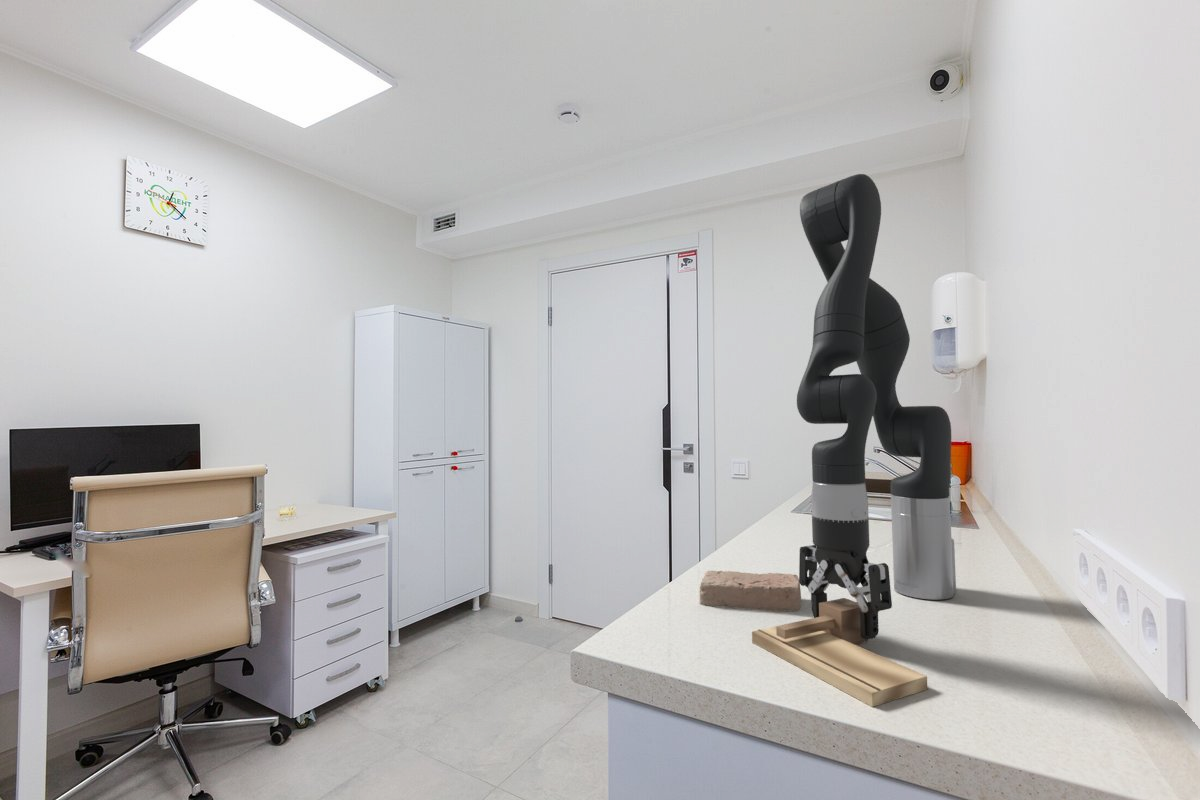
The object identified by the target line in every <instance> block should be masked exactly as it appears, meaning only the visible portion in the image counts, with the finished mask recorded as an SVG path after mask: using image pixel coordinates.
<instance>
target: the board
mask: <svg viewBox="0 0 1200 800" xmlns="http://www.w3.org/2000/svg"><path fill="white" fill-rule="evenodd" d="M751 640H752V641H751V642H752V644H755V645H756V646H758V647H760V648H762V649H764V650H766V651H767V652H770V653H771V654H773V655H775V656H777V657H779V658H781V659H783V660H785V661H786V662H788V663H790V664H791V665H794V666H795V667H797V668H799V669H801V670H803V671H805V672H806V673H809V674H810V675H811V676H814V677H816V678H818V679H819V680H822V681H823V682H825V683H827V684H829V685H830V686H833V687H835V688H836V689H839V690H840V691H842V692H844V693H846V694H848V695H850V696H851V697H853V698H855V699H858V700H859V701H861V702H863V703H865V704H866V705H868V706H869V707H872V708H873V707H875V706H880V705H883V704H885V703H888V702H889V703H890V702H892V701H895V700H899V699H901V698H904V697H905V698H906V697H907V696H911V695H914V694H917V693H920V692H923V691H927V690H928V676H927V675H925V674H924V673H921V672H918V671H916V670H914V669H912V668H909V667H907V666H905V665H902V664H900V663H898V662H895V661H893V660H891V659H889V658H887V657H884V656H882V655H879V654H877V653H875V652H872V651H870V650H868V649H866V648H863V647H861V646H859V645H858V644H856V645H854V644H852V643H850V642H847V641H845V640H843V639H840V638H838V637H836V636H833V635H831V634H829V633H827V632H824V631H818V632H814V633H810V634H805V635H801V636H797V637H792V638H788V639H783V638H781V637H779V636H777V633H776V626H772V627H768V628H762V629H757V630H753V631H752V632H751Z"/></svg>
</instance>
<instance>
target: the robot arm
mask: <svg viewBox="0 0 1200 800" xmlns="http://www.w3.org/2000/svg"><path fill="white" fill-rule="evenodd" d="M799 203H800V204H799V217H800V222H801V224H802V225H801V226H802V228H803V231H804V235H805V237H806V239H807V242H808V243H809V245H810V246H809V247H810V248H811V250H812V252H813V254H814V256H815V258H816V259H815V260H816V261H817V263H818V265H819V267H820V269H821V272H822V273H823V275H824V277H825V279H826V285H825V286H824V288H823V290H822V291H821V294H820V296H819V298H818V300H817V303H816V305H815V311H814V317H813V335H812V349H811V352H810V355H809V359H808V362H807V366H806V368H805V371H804V373H803V376H802V379H801V381H800V384H799V387H798V389H797V390H798V391H797V393H796V408H797V411H798V413H799V415H800V417H801V418H802V419H803V420H804V421H805V422H807V423H809V424H814V425H816V424H817V425H821V424H822V425H825V424H826V425H827V424H828V425H829V424H831V425H834V424H836V425H837V424H838V425H839V424H840V425H841V424H845V425H846V424H847V428H846V430H845V432H844V433H843V434H842V435H841V436H839V437H836V438H833V439H826V440H823V441H818V442H815V444H814V445H813V446H812V450H811V466H812V468H811V469H812V471H811V472H812V473H811V474H812V475H811V477H812V485H811V486H812V488H811V498H810V499H811V500H810V501H811V504H810V505H811V526H812V530H811V531H812V543H813V545H812V544H811V545H806V546H805V545H804V546H800V547H799V559H798V560H799V561H798V562H799V567H798V569H799V570H798V571H799V572H798V574H799V575H798V578H799V583H800V586H802V587H806V588H807V589H808V592H809V593H810V600H811V601H810V602H811V603H810V605H811V607H810V608H811V609H810V610H811V613H812V616H813V617H812V618H816V617H819V603H822V602H826V601H828V593H827V592H825V591H826V590H827V588H828V587H829V586H830V585H837V586H839V587H840V588H842V589H846V590H847V591H848V593H849V595H850V596H851V597H852V598H854V599H855V602H857V603H858V605H859V606H860V608H861V610H862V611H860V630H861V637H862V638H863V639H866V640H868V641H869V640H873V639H875V638H877V636H878V635H879V612H881V611H885V610H886V611H887V610H890V609H892V608H893V603H892V602H893V601H892V590H891V578H890V568H889V565H888V564H887V563H885V562H882V563H873V562H869V560H868V556H867V553H868V549H869V547H870V524H869V522H870V521H869V520H870V519H869V500H868V494H867V493H868V491H867V486H866V465H865V464H866V462H865V455H866V446H867V445H866V444H867V440H868V434H869V429H870V426H871V422H872V419H873V421H874V426H875V429H876V433H877V437H878V440H879V442H880V444H881V447H882V448H883V450H884V451H885V452H886V453H887V454H888V455H890V456H893V457H902V458H920V461H919V466H918V468H916V469H915V470H914V471H911V472H909V473H907V474H903V475H900V476H896V477H894V478H892V480H891V481H890V505H891V506H890V509H891V510H890V511H891V535H892V536H891V537H892V538H891V540H892V560H893V561H892V563H893V564H892V565H893V566H892V567H893V568H892V569H893V589H894V590H895V591H896V592H897V593H899V594H901V595H904V596H907V597H911V598H916V599H922V600H923V599H924V600H933V601H934V600H937V601H938V600H948V599H950V598H953V597H954V594H955V593H957V581H956V580H957V577H956V557H955V556H956V554H955V553H956V551H955V539H953V538H952V525H951V524H952V523H951V521H952V520H951V519H952V517H951V499H950V496H951V495H950V486H951V481H952V480H951V479H952V478H951V477H952V464H951V463H952V458H951V457H952V426H951V425H952V424H951V421H950V416H949V415H948V412H947V411H946V410H945V408H943V407H941V406H937V405H915V406H914V405H912V406H910V405H909V406H907V405H906V406H903V405H902V404H901V403H900V401H899V399H898V395H897V391H896V390H897V389H896V384H897V379H898V376H899V373H900V371H901V368H902V367H903V364H904V362H905V359H906V356H907V354H908V351H909V347H910V339H911V336H910V333H909V329H908V326H907V323H906V321H905V318H904V313H903V311H902V307H901V305H900V303H899V302H898V301H897V299H896V298H895V296H893V294H891V293H890V292H889V291H887V289H885V288H884V287H883V286H882V285H880V284H879V283H877V282H876V281H875V280H873V279H872V278H871V273H872V272H871V270H872V266H873V262H874V257H875V253H876V248H877V247H876V246H877V242H878V237H879V232H880V227H881V221H882V220H881V217H882V202H881V195H880V193H879V189H878V187H877V185H876V183H875V181H873V179H872V178H871V177H870V176H869V175H867V174H864V173H857V174H854V175H849V176H848V177H845V178H842V179H840V180H837V181H835V182H833V183H829V184H827V185H825V186H823V187H822V186H821V187H819V188H816V189H814V190H812V191H810V192H808V193H806V194H805V195H804V196H803V197H802V199H801V200H800V202H799ZM845 241H847V243H846V245H845V246H846V247H844V246H843V242H845ZM855 362H856V364H857V368H858V369H859V372H860V373H853V374H852V373H849V374H836V375H835V374H833V375H831V374H832V372H833V371H834V370H836V369H838V368H840V367H843V366H847V365H850V364H852V363H855ZM860 584H861V586H859V585H860Z"/></svg>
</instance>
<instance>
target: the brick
mask: <svg viewBox="0 0 1200 800" xmlns="http://www.w3.org/2000/svg"><path fill="white" fill-rule="evenodd" d="M699 605H702V606H710V607H718V608H719V607H721V608H722V607H726V608H734V609H736V608H737V609H747V610H761V611H769V612H770V611H771V612H796V611H799V610H800V609H801V607H802V593H801V584H800V583H799V575H797V574H791V573H778V572H775V573H771V572H768V573H760V574H759V573H751V572H741V571H732V570H728V571H727V570H725V571H722V570H707V571H705V573H704V575H703V578H701V581H700V584H699Z"/></svg>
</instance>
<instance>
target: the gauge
mask: <svg viewBox="0 0 1200 800" xmlns="http://www.w3.org/2000/svg"><path fill="white" fill-rule="evenodd" d="M860 611H862V610H861V608H860V606H859V605H858V603H857V601H854V600H851V599H848V598H845V597H842V598H837V599H831V600H827V601H826V602H822V603H819V617H816V618H814V617H812V618H809V619H803V620H799V621H798V620H797V621H794V622H789V623H785V624H781V625H780V624H779V625H776V626H775V627H776V633H777V636H779V637H781V638H783V639H788V638H792V637H797V636H801V635H805V634H810V633H814V632H818V631H824V632H827V633H829V634H831V635H833V636H836V637H838V638H840V639H843V640H845V641H847V642H850V643H852V644H854V645H859V644H864V643H868V642H869V640H866V639H863V638H862V637H861V630H860ZM867 641H868V642H867Z"/></svg>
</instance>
